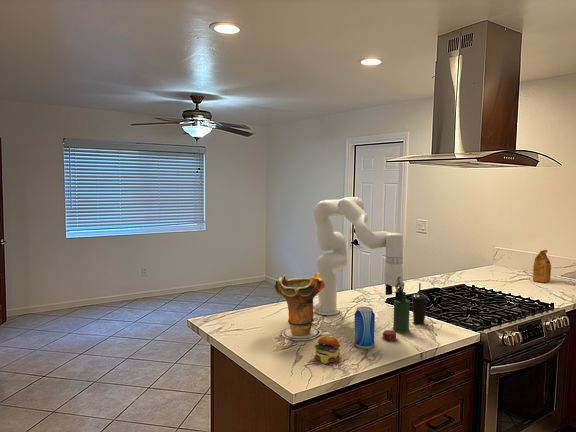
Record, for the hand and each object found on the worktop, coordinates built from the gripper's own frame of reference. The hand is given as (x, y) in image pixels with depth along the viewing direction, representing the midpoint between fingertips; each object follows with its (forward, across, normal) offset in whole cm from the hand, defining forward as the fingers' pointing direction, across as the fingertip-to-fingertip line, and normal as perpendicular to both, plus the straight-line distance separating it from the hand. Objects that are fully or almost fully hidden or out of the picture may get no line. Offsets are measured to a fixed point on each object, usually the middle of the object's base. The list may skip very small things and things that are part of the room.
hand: (393, 297), depth 188 cm
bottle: (+17, -4, +6) cm, 18 cm away
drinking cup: (+17, -10, +19) cm, 28 cm away
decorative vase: (+17, -10, -42) cm, 46 cm away
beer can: (+17, +10, -19) cm, 27 cm away
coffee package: (+17, -69, +148) cm, 165 cm away
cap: (+17, +5, -4) cm, 18 cm away
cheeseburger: (+17, +18, -38) cm, 45 cm away
